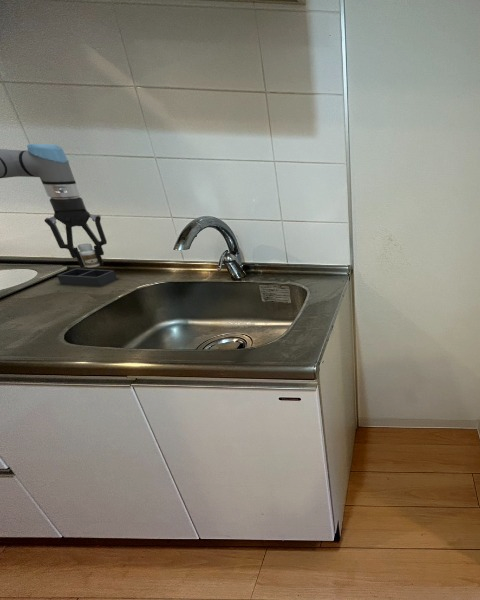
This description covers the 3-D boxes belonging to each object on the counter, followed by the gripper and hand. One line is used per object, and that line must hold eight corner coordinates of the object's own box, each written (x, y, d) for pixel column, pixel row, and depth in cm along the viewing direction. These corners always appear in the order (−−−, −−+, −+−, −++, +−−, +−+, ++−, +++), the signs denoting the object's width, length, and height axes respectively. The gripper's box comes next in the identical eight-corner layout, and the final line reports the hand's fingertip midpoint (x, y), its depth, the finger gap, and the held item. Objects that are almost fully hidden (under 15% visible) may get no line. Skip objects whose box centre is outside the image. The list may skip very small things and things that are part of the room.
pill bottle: (87, 268, 107) (78, 247, 104) (82, 265, 109) (73, 244, 106) (103, 265, 111) (95, 244, 107) (98, 262, 113) (90, 242, 109)
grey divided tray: (100, 286, 109) (96, 277, 108) (60, 284, 109) (56, 275, 107) (117, 279, 116) (113, 270, 114) (79, 276, 115) (75, 268, 114)
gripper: (22, 200, 92) (56, 272, 102) (101, 198, 102) (124, 264, 112) (27, 196, 97) (58, 266, 107) (101, 194, 107) (123, 258, 117)
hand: (92, 265), depth 110 cm, fingers closed on pill bottle, 4 cm apart
